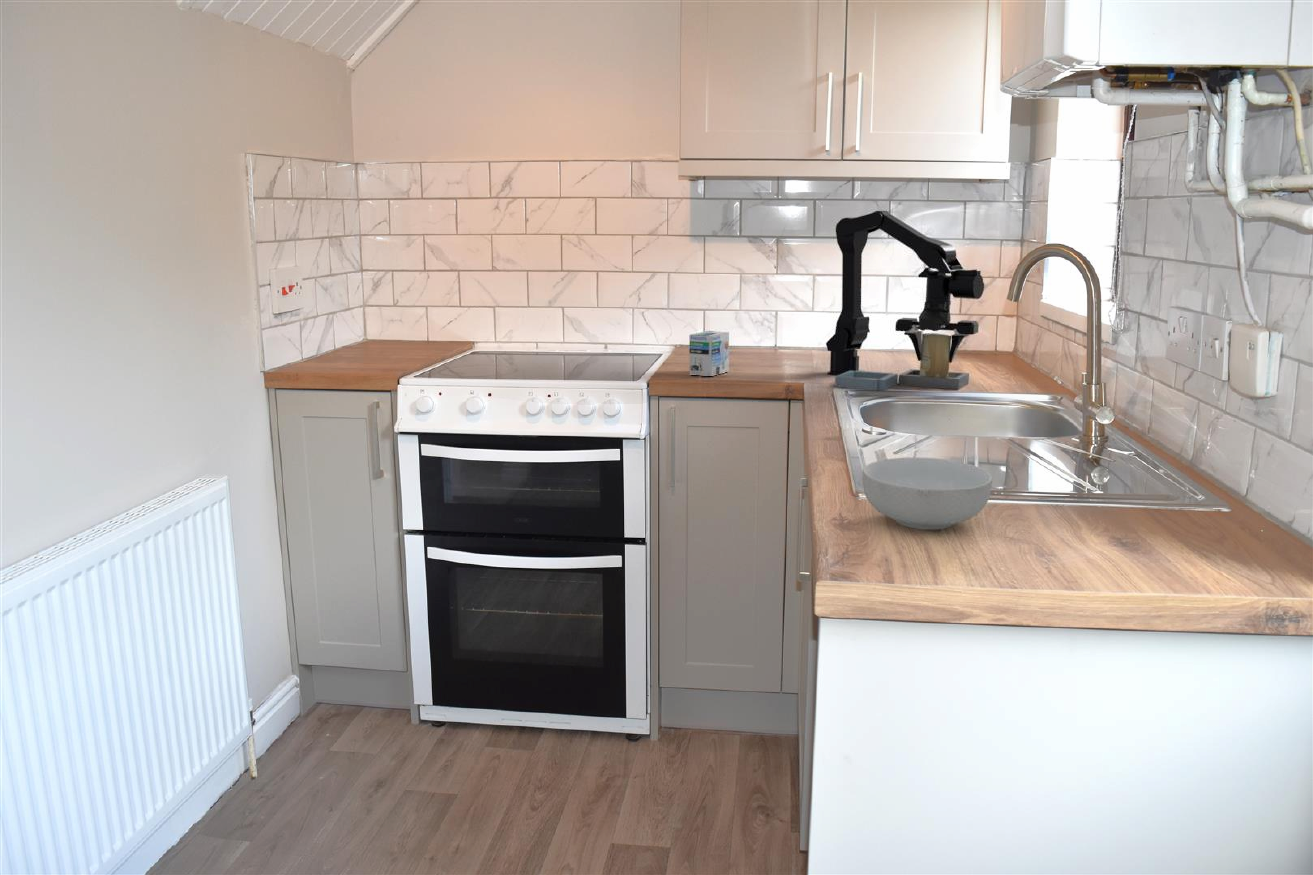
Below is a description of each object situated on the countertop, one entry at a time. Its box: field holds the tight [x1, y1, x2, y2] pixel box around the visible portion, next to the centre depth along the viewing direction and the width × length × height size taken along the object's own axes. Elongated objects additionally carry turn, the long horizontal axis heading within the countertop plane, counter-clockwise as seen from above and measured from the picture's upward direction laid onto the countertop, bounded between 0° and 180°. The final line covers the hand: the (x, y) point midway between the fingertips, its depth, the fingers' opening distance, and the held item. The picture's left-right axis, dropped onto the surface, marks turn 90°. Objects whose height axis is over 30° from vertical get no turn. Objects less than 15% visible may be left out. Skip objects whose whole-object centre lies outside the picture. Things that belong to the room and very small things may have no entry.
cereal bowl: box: [862, 457, 993, 531], centre depth 141 cm, size 17×17×7 cm
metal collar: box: [897, 368, 970, 391], centre depth 253 cm, size 14×10×2 cm
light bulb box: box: [689, 330, 730, 376], centre depth 270 cm, size 11×7×11 cm, turn 151°
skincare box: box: [919, 332, 952, 377], centre depth 252 cm, size 6×4×12 cm
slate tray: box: [834, 370, 899, 391], centre depth 252 cm, size 12×12×2 cm
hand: (934, 361), depth 252 cm, fingers closed on skincare box, 7 cm apart
